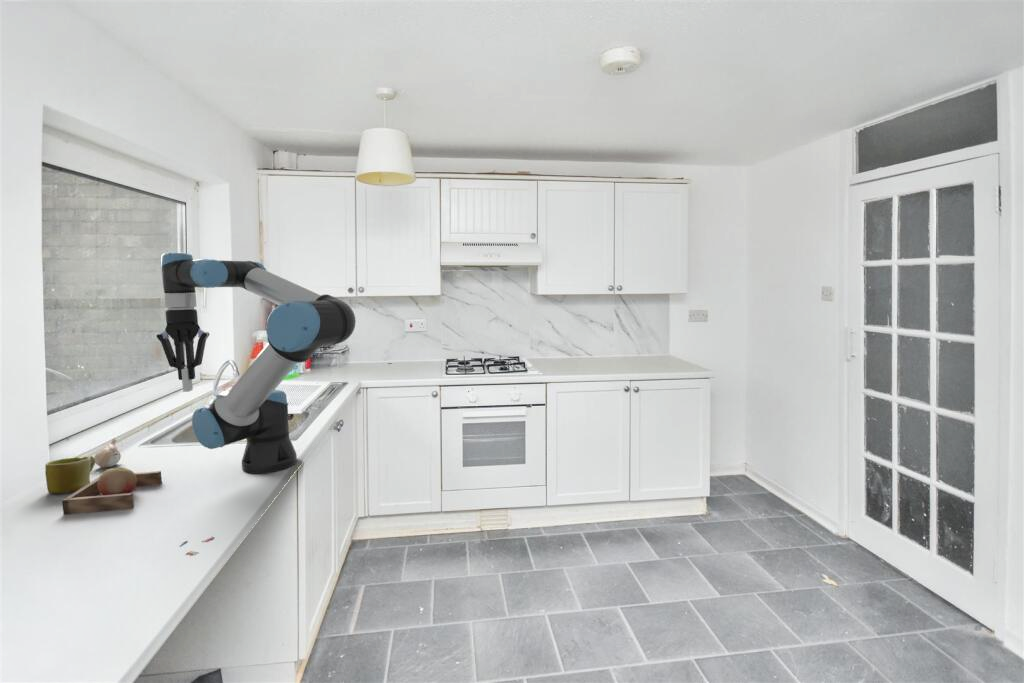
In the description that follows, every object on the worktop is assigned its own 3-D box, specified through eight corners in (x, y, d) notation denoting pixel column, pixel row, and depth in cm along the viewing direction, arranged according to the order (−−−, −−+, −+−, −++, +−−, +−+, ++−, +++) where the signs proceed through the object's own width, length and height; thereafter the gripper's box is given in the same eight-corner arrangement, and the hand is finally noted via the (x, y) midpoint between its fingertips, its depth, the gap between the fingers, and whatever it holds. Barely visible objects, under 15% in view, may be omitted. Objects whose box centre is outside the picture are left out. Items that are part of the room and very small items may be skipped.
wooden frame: (162, 483, 141) (160, 471, 141) (131, 508, 125) (130, 494, 125) (102, 487, 138) (101, 475, 138) (63, 514, 122) (61, 500, 122)
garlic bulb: (125, 465, 156) (123, 439, 155) (100, 471, 150) (97, 445, 149) (116, 461, 159) (114, 436, 158) (91, 467, 154) (88, 442, 153)
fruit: (145, 493, 134) (142, 464, 133) (112, 506, 127) (109, 475, 126) (125, 489, 137) (122, 460, 136) (91, 501, 130) (88, 471, 129)
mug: (65, 492, 131) (60, 454, 132) (36, 501, 133) (32, 463, 134) (113, 483, 142) (108, 448, 144) (86, 492, 145) (81, 457, 146)
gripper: (211, 307, 149) (217, 387, 151) (161, 308, 146) (168, 389, 148) (201, 308, 141) (208, 392, 144) (148, 309, 139) (156, 394, 141)
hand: (188, 390), depth 146 cm, fingers closed
